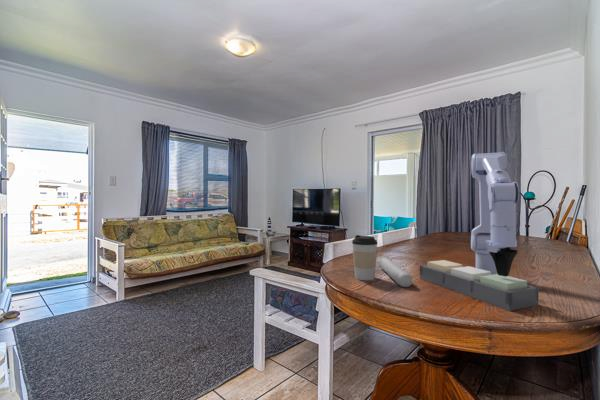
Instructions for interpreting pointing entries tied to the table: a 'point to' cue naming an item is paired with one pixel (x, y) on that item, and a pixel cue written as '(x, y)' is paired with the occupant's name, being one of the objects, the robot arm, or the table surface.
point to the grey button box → (482, 290)
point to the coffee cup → (364, 257)
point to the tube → (395, 272)
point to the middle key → (469, 272)
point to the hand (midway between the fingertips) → (503, 275)
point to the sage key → (503, 282)
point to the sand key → (443, 265)
